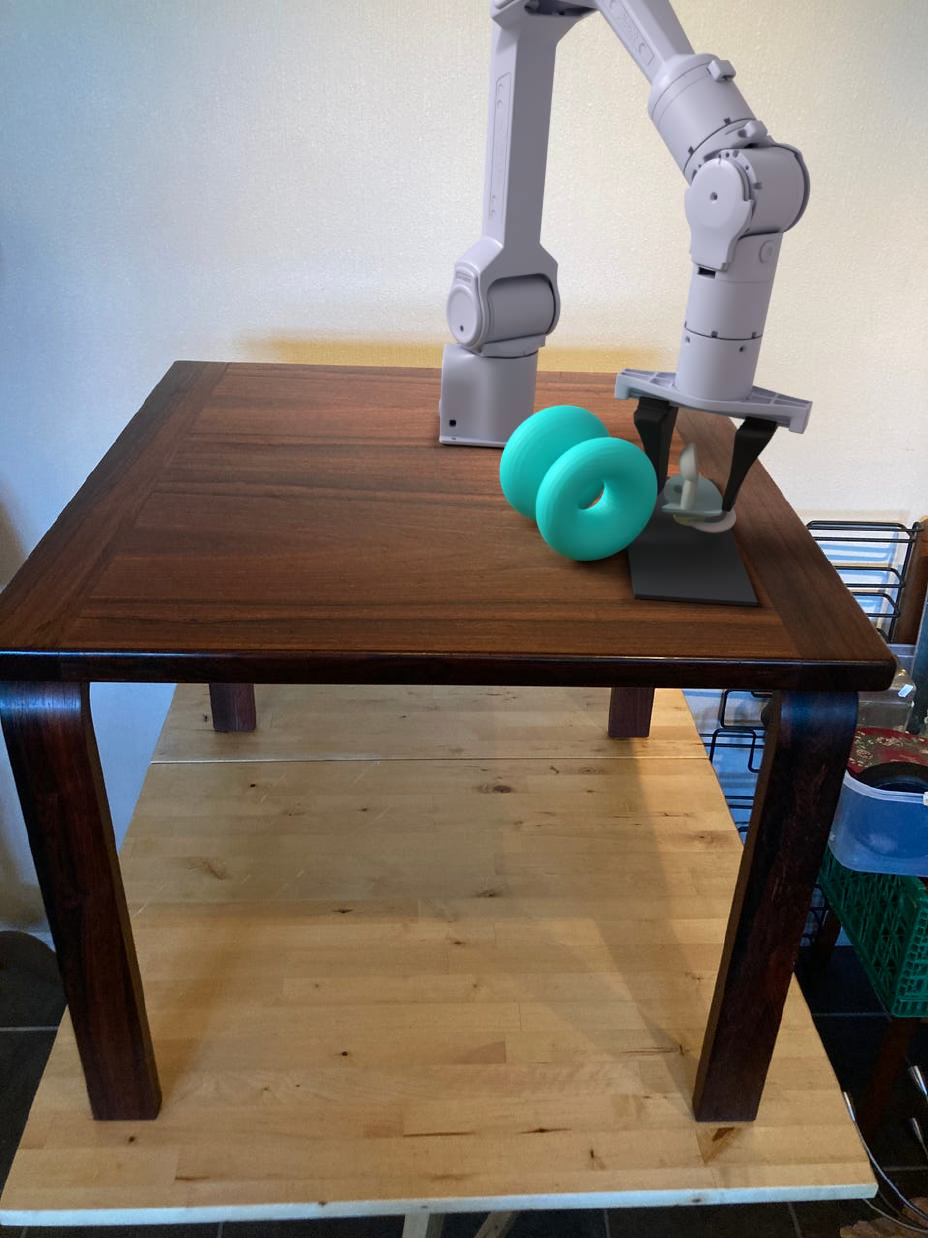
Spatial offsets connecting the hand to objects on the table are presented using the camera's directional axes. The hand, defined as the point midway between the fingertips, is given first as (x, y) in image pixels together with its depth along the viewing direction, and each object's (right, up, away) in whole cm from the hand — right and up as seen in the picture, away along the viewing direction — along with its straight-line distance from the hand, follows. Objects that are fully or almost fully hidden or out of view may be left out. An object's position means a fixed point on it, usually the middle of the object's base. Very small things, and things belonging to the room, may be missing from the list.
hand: (692, 498), depth 78 cm
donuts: (-10, -3, +2) cm, 10 cm away
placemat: (-1, -3, +3) cm, 4 cm away
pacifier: (0, -2, +1) cm, 2 cm away
